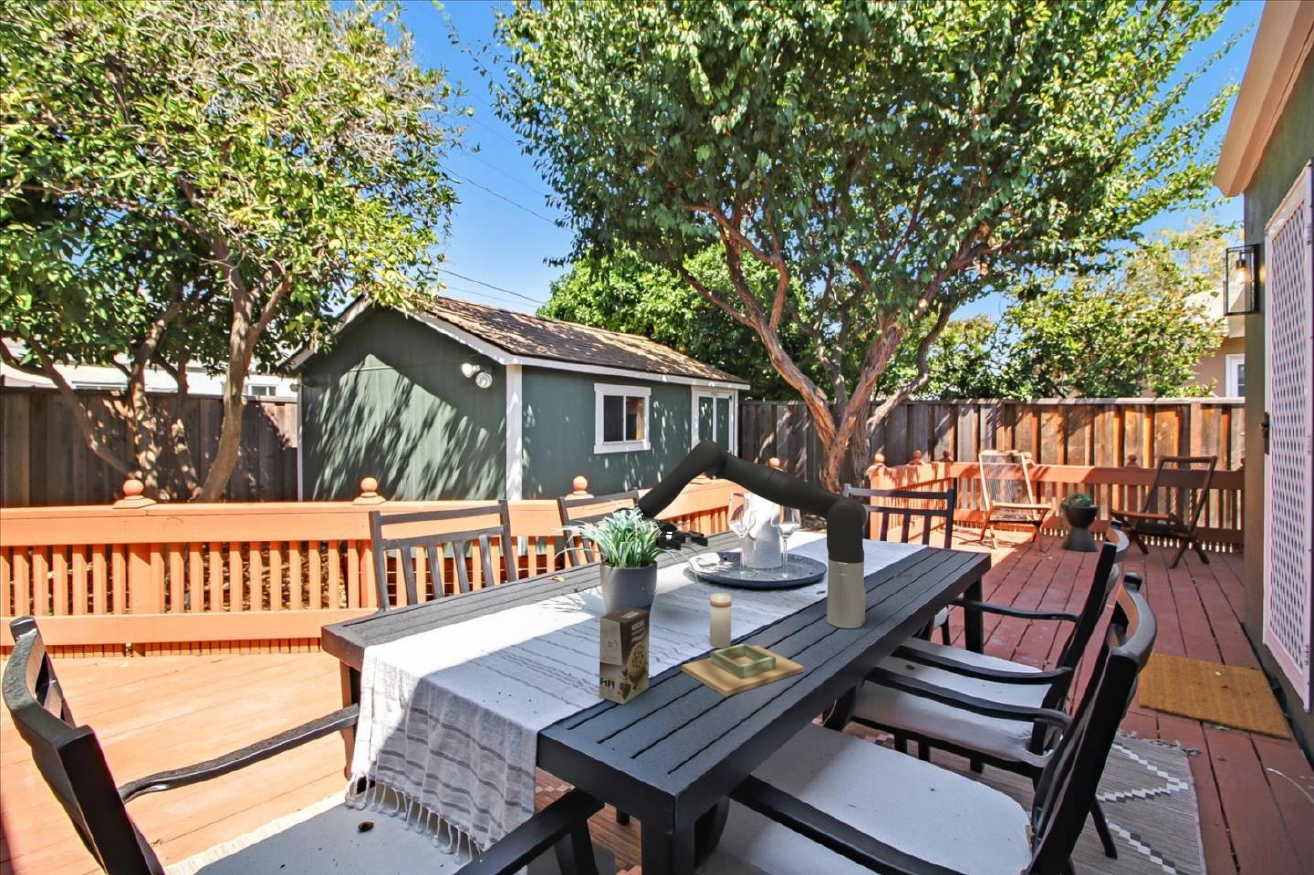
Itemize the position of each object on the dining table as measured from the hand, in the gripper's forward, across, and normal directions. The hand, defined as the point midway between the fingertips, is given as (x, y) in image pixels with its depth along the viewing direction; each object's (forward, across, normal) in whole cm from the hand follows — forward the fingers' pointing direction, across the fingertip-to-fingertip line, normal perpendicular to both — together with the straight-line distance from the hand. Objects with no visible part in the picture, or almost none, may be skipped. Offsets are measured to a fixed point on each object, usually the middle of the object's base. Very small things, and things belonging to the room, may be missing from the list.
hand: (693, 544), depth 163 cm
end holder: (+26, -6, +22) cm, 35 cm away
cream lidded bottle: (+11, 0, +22) cm, 25 cm away
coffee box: (+21, -33, +23) cm, 45 cm away
